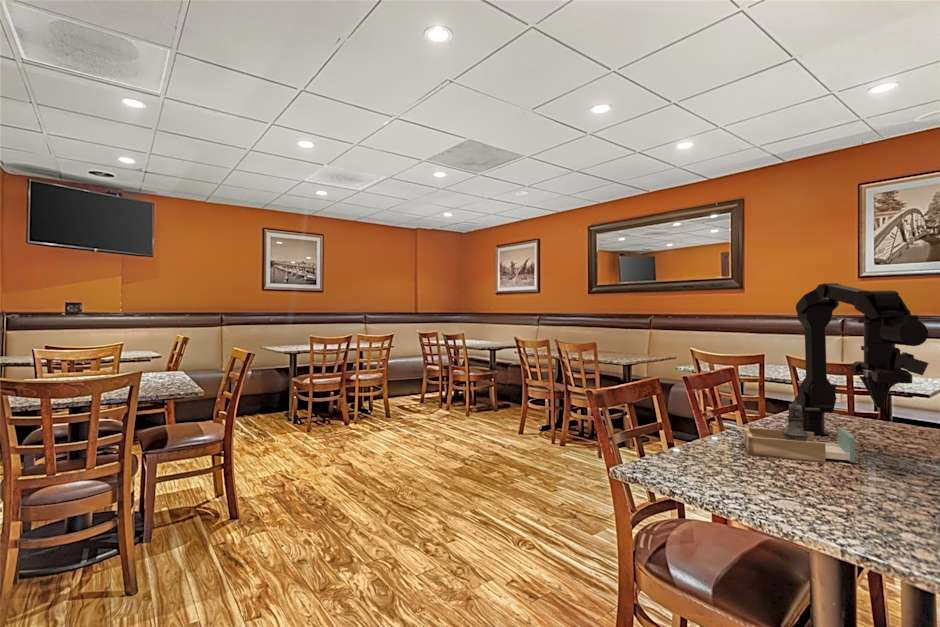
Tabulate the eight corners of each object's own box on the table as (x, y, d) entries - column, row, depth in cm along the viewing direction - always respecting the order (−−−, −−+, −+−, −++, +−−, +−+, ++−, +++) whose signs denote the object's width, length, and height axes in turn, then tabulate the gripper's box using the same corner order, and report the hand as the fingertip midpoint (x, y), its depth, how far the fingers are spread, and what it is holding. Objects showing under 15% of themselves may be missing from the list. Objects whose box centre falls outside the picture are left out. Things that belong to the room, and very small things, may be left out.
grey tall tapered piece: (776, 445, 123) (776, 398, 123) (790, 442, 125) (790, 396, 125) (800, 451, 118) (800, 402, 118) (814, 448, 120) (814, 400, 120)
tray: (771, 445, 127) (771, 423, 127) (843, 452, 121) (843, 428, 121) (777, 455, 119) (777, 431, 119) (855, 462, 113) (855, 437, 113)
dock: (743, 443, 131) (743, 426, 131) (813, 449, 125) (813, 432, 125) (748, 454, 121) (748, 437, 121) (825, 462, 114) (825, 443, 114)
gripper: (943, 346, 102) (943, 418, 103) (905, 340, 120) (905, 402, 120) (877, 345, 107) (878, 414, 107) (850, 339, 124) (850, 399, 124)
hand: (879, 407), depth 114 cm, fingers closed
